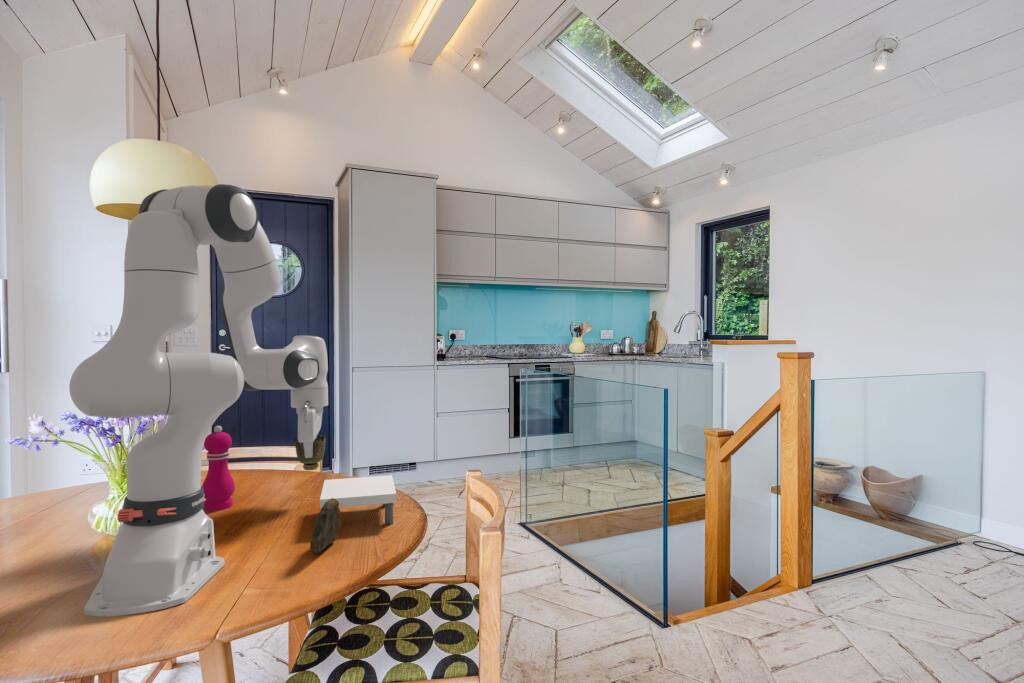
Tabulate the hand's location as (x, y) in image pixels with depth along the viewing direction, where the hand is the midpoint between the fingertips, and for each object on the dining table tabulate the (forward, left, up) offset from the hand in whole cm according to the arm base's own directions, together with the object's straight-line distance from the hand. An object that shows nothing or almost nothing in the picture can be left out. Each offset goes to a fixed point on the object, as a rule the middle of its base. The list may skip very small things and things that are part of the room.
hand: (310, 454), depth 135 cm
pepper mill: (+2, +21, -12) cm, 25 cm away
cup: (0, 0, -4) cm, 4 cm away
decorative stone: (-32, -6, -12) cm, 35 cm away
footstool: (-14, -12, -12) cm, 22 cm away
